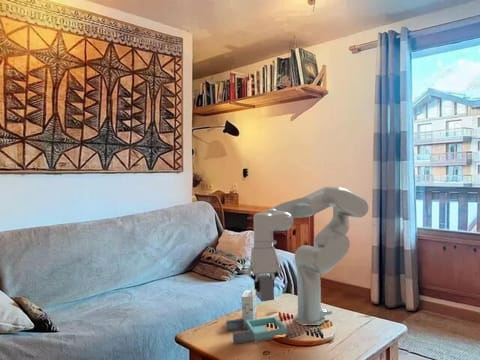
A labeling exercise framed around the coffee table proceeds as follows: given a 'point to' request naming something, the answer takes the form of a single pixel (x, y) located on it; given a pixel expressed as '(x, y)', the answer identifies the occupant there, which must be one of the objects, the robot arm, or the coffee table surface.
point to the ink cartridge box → (249, 304)
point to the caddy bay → (239, 336)
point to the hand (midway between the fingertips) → (264, 289)
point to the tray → (259, 328)
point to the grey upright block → (265, 288)
